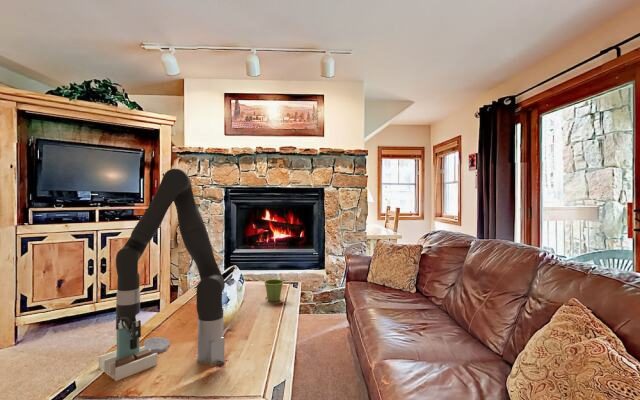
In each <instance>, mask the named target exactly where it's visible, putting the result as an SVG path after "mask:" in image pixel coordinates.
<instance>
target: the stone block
mask: <svg viewBox="0 0 640 400" xmlns="http://www.w3.org/2000/svg"><path fill="white" fill-rule="evenodd" d="M170 345H171V343H170V340H169V338H166V337H162V336H161V337H159V336H154V337H149V338H147V339H144V342H143V346H145V350H146V349H148V350H149V349H150V350H151V351H152V354H155V353H157V354H161V353H165V352H166V351H167V350H168V348H169V347H170ZM143 346H142V347H143Z"/></svg>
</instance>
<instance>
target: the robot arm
mask: <svg viewBox="0 0 640 400" xmlns="http://www.w3.org/2000/svg"><path fill="white" fill-rule="evenodd" d="M191 183H192V182H191V178H190V176H189V175H188V173H187V172H186V171H184V170H182V169H180V168H171V169H168V170H167V171H166V172H165V173H164V174H163V177H162V179H161V181H160V184H159V186H158V188H157V190H156V193H155V195H154V196H153V199H152V200H151V202H150V203H149V205H148V207H147V209H145V211H144V212H143V214H142V216H141V217H140V219H139V220H138V221H137V222H136V223H137V224H136V225H135V227H134V228H133V229H132V231H131V234H130V237H129V238H128V239H127V240H126V243H125V244H124V246H122V248H121V249H119V250H118V251H117V253H116V256H115V269H116V273H117V281H116V283H117V284H116V287H117V289H116V300H115V302H116V303H115V304H116V306H115V307H116V308H115V316H116V317H115V330H116V331H117V329H121V328H125V329H126V332H127V334H129V337H130V349H131V350H133V349H136V348H137V338H139V339H140V338H141V336H142V328H141V327H142V323H141V320H140V319H138V320H137V317H136V316H137V315H139V314H140V312H141V289H140V281H141V280H140V273H139V271H138V270H139V260H140V259H141V257H142V256H143V253H144V251H145V250H146V248H147V246H148V245H149V244H150V243H151V241H152V239H153V238H154V236H155V234H156V233H157V231H158V230H159V228H160V226H161V224H162V223H163V220H164V218H165V216H166V215H167V212H168V210H169V208H170V207H171V206H172V204H173V203H174V206H175V209H176V214H177V223H178V229H179V232H180V237H181V239H182V241H183V242H182V243H183V245H184V247H185V250H186V251H187V252H188V254H189V255H190V257H191V258H192V259H193V262H194V263H195V265H196V267H197V271H198V274H199V279H200V280H199V282H198V284H197V285H196V286H197V287H196V291H195V292H196V312H197V362H199V363H200V364H202V365H203V364H204V365H210V366H211V365H213V366H212V367H210V369H212V368H215V367H217V366H219V365H221V364H223V363H225V356H226V355H225V353H226V352H225V350H226V349H225V343H226V340H225V337H224V307H223V292H224V290H225V286H226V282H225V279H224V277H223V275H222V272H221V270H220V268H219V266H218V263H217V262H216V259H215V255H214V251H213V247H212V244H211V240H210V237H209V234H208V231H207V230H208V229H207V227H206V225H205V222H204V220H203V217H202V215H201V212H200V210H199V208H198V206H197V203H196V201H195V197H194V192H193V187H192V184H191ZM131 329H132V330H131ZM137 331H138V332H137ZM219 362H220V363H219ZM215 363H218V364H215ZM214 364H215V365H214Z"/></svg>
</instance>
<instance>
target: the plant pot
mask: <svg viewBox="0 0 640 400" xmlns="http://www.w3.org/2000/svg"><path fill="white" fill-rule="evenodd" d="M284 283H285V282H284V280H283V279H282V280H281V279H276V278H274V279H272V278H271V279H267V280H264V283H263V284H264V286H265V290H266V291H265V292H266V297H267V301H268V302H275V303H276V302H278V301H280V300H281V295H282V294H281V293H282V289H283V285H284Z"/></svg>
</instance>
